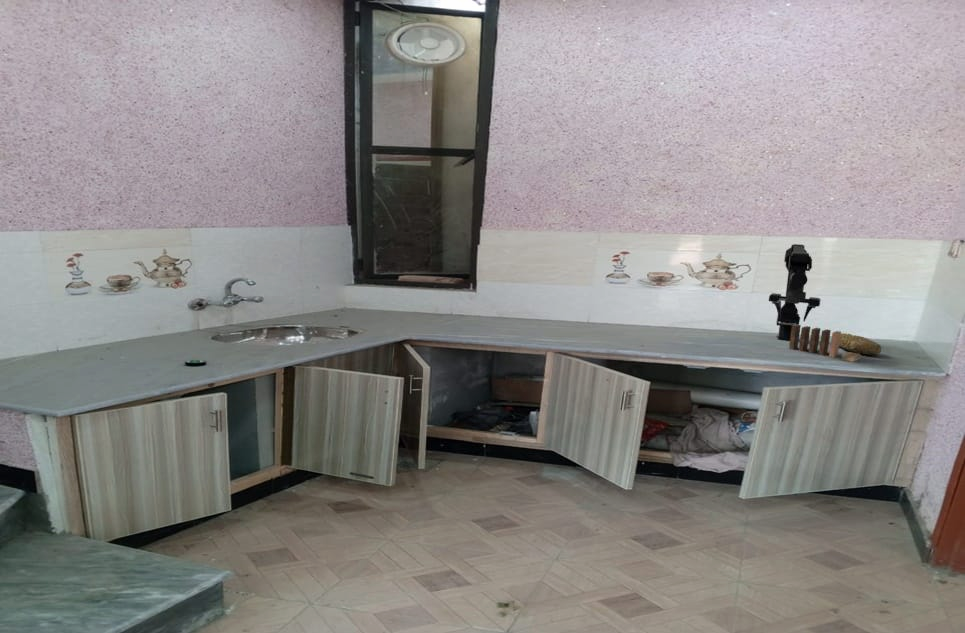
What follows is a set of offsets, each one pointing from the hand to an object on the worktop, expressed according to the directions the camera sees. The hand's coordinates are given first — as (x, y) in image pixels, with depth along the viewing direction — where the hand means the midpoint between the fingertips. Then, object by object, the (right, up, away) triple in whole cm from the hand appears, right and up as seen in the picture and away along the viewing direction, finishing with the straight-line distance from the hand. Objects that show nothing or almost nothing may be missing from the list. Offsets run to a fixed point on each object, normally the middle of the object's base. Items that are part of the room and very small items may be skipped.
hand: (791, 319), depth 246 cm
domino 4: (+11, -14, -4) cm, 18 cm away
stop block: (+18, -16, -12) cm, 26 cm away
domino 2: (+6, -13, +2) cm, 14 cm away
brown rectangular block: (+3, -12, +5) cm, 13 cm away
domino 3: (+8, -13, -1) cm, 16 cm away
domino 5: (+13, -15, -7) cm, 21 cm away
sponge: (+29, -14, +3) cm, 32 cm away
